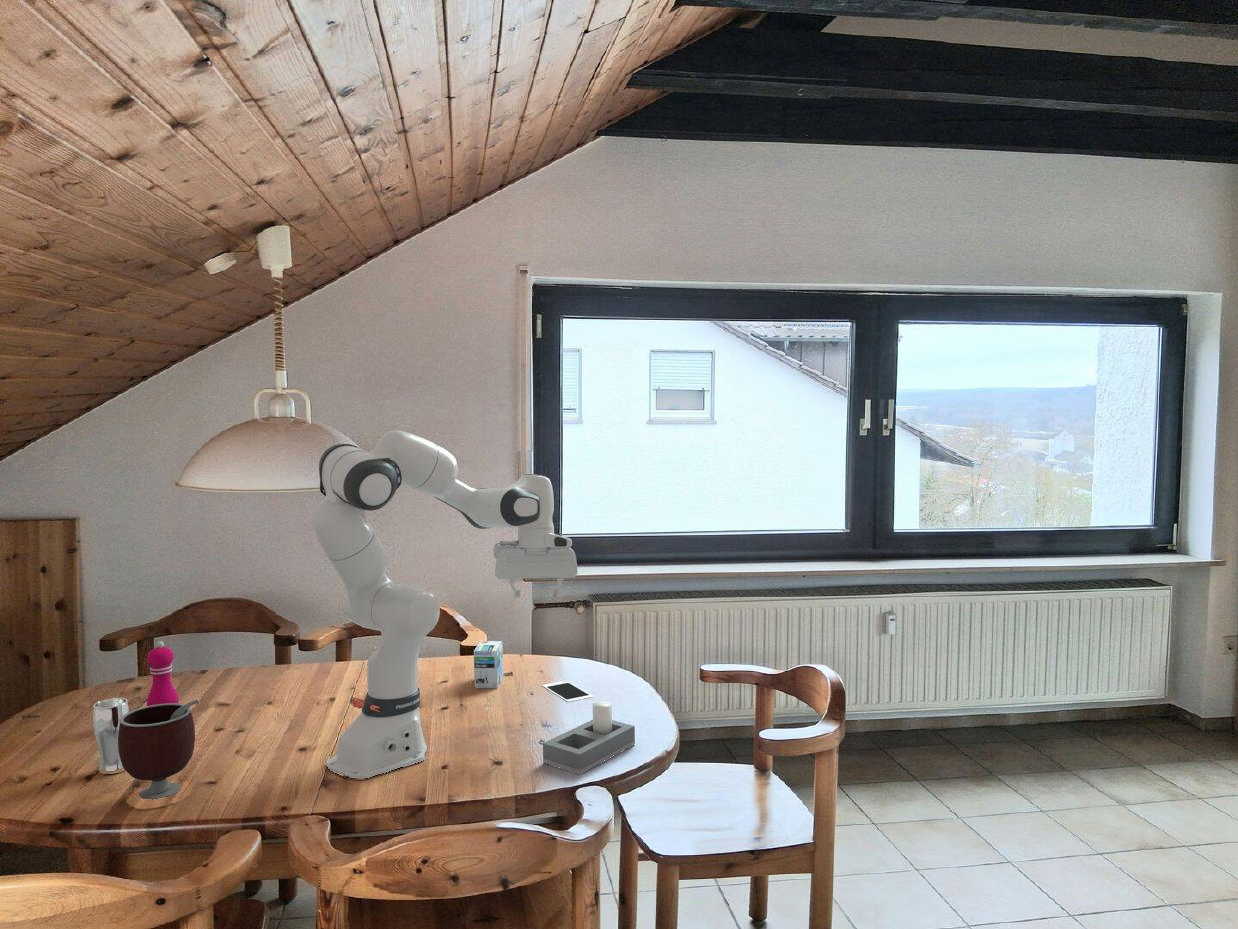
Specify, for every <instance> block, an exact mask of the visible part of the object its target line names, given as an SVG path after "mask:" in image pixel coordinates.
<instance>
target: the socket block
mask: <svg viewBox="0 0 1238 929" xmlns="http://www.w3.org/2000/svg"><path fill="white" fill-rule="evenodd" d="M635 728H636V727H635V725H631V724H629V723H624V722H620V721H616V720H613V719H612V732H611V733H609V734H607V735H602V734H598V733H594V732H593V719H591V720H589V721H588V722H584V723H583V724H581V725H578V726H576V727H574V728H572V729H570V730H568V731H565V732H564V733H562V734H560V735H558V736H556V737H552V738H551V739H549V740H547V741H544V742H542V764H544V763H546V764H545V765H547V764H549V765H548V766H550V765H552V766H551V767H554V766H555V767H554V768H557V767H560V768H562V769H561V770H563V769H565V770H564V771H566V770H568V771H567V772H569V771H571V772H570V773H573V774H576V773H578V774H577V775H579V774H581V775H582V773H583V774H585V773H586V772H588V771H590V770H591V769H590V768H592V767H594V768H595V767H597V766H599V765H600V764H599V763H601V762H603V761H604V760H606V761H608V760H610V759H611V758H610V757H612V756H613V755H615V754H617V755H619V754H621V753H622V752H621V751H623V750H625V749H626V748H628V749H630V748H632V747H634V746H635V745H636V737H635V736H636V729H635ZM634 744H635V745H634ZM633 745H634V746H633ZM631 746H632V747H631ZM625 751H626V750H625ZM620 752H621V753H620ZM623 752H624V751H623ZM618 753H619V754H618ZM609 758H610V759H609ZM612 758H613V757H612ZM607 759H608V760H607ZM603 763H604V762H603ZM598 764H599V765H598ZM601 764H602V763H601ZM596 765H597V766H596ZM560 768H559V769H560ZM589 769H590V770H589ZM592 769H593V768H592ZM587 770H588V771H587Z"/></svg>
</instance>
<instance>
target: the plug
mask: <svg viewBox="0 0 1238 929" xmlns="http://www.w3.org/2000/svg"><path fill="white" fill-rule="evenodd" d="M592 720H593V732H594V733H598V734H602V735H607V734H609V733H611V732H612V720H613V704H612V703H611V702H609V701H603V700H602V701H595V702H594V703H592Z"/></svg>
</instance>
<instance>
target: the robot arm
mask: <svg viewBox="0 0 1238 929" xmlns="http://www.w3.org/2000/svg"><path fill="white" fill-rule="evenodd" d="M458 465H459V464H458V462H457V459H456V457H455V456H454V455H453V454H452V453H451V452H450V451H448V450H447V449H445V448H444V447H442V446H440V445H438V444H437V443H435V442H432V441H431V440H428V439H426V438H425V437H422V436H420V435H417V434H414V433H410V432H408V431H404V430H398V429H397V430H396V429H393V430H390V431H388V432H386V433H385V434H383V435H382V436H381V437H380V438H379V440H378V442H377V443H376V446H375V447H374V448H372V449H371V450H369V451H367V450H364V449H362V448H360V447H358V446H357V445H354V444H350V443H339V444H334V445H332V446H330V447H328V448H327V449H326V450H324V452H323V453H322V455H321V456H320V459H319V464H318V474H319V475H318V476H319V492H320V493H321V494H322V495H323V496H325V498H324V499H323V500H322V501H320V502H319V503H318V504H317V505H316V506H315V507H314V508H313V510H312V512H311V514H310V524H311V526H312V529H313V533H314V534H315V537H316V539H317V541H318V544H319V545H320V547H321V549H322V552H323V553H324V555H325V556H326V557H327V559H328V561H329V562H330V564H331V565H332V568H334V571H335V572H336V574H337V575H338V576H339V578H340V580H341V582H342V584H343V587H344V590H345V593H344V595H343V597H342V602H341V608H342V612H343V615H344V616H345V618H346V619H347V620H349V621H351V622H352V623H354V624H355V625H357V626H360V627H361V628H365V629H370V630H373V631H380V634H381V640H380V644H379V647H378V649H377V650H375V651H374V652H373V653H371V655H369V657H368V658H367V663H366V667H367V668H366V672H367V673H366V674H367V675H366V676H367V692H366V694H365V697H364V699H360V698H359V697H355V698H354V699H353V701H352V703H351V705H352V707H353V708H356V709H361V712H360V714H358V716H357V717H356V718H355V719H354V721H353V722H352V723H351V724H350V725H349V726H348V727H347V729H345V731H344V732H343V733H342V734H341V735H340V736H339V738H338V740H337V747H336V754H335V755H334V756H332V757H331V758H329V759H326V761H325V766H326V765H327V767H328V768H329V769H330V770H332V771H334V772H335V773H339V774H341V775H345V776H349V777H353V778H361V779H360V780H364V779H363V778H368V777H371V776H374V775H377V774H380V773H384V774H387V773H390V772H392V771H391V770H394V769H397V768H400V767H403V768H406V767H409V766H412V765H415V763H416V764H418V762H419V763H422V762H424V761H426V757H425V755H426V754H425V753H426V752H427V750H428V746H427V743H426V741H425V737H424V733H423V729H422V722H421V715H420V706H421V690H420V688H419V686H418V685H419V680H418V678H419V676H418V675H419V674H418V673H419V670H418V669H419V668H418V666H419V663H418V662H419V661H418V660H419V653H420V650H421V646H422V644H423V641H424V639H425V638H426V636H427V635H428V634H429V633H431V632H432V631H433V629H435V627H436V625H437V624H438V622H439V619H440V614H441V610H440V608H441V607H440V603H439V600H438V598H437V596H435V594H433V593H431V592H429V591H427V590H425V589H423V588H420V587H418V586H415V585H414V586H413V585H409V584H400V583H397V582H396V583H395V582H394V581H392V580H391V579H390V578H389V577H388V576H387V574H386V571H387V570H388V567H389V564H390V556H389V553H388V552H387V550H386V549H385V547H384V545H383V543H382V542H381V540H380V539H379V536H378V535H377V534H376V532H375V530H374V528H373V527H372V525H371V524H370V522H369V521H368V518H367V515H366V513H365V512H366V511H378V510H380V509H382V508H384V507H385V506H386V505H388V503H389V502H390V501H391V500H392V498H393V497H394V496H395V493H396V491H397V490H398V489H399V488H400V486H401V485H405V486H407V487H409V488H411V489H413V490H415V491H418V492H420V493H423V494H425V495H429V496H432V497H433V498H435V499H436V500H438V501H440V502H442V503H444V504H445V505H447V506H449V507H451V508H453V509H454V510H456V511H458V512H459V513H460V514H461V515H462V516H463V517H464V518H465V519H466V520H467V522H468V523H470V525H471V526H473V527H475V528H476V529H479V530H487V529H494V528H495V529H499V528H501V529H503V528H516V527H517V528H518V529H517V540H509V541H508V540H506V541H505V540H501V541H500V540H499V542H497V543H496V544H495V545H494V547H493V557H494V558H495V569H494V576H495V577H496V579H498V580H509V585H510V587H511V588H512V589H513V597H514V598H516V599H517V598H519V599H520V598H521V590H520V589H517V587H516V586H515V584H516V580H518V579H521V580H522V579H523V580H525V579H557V583H558V584H557V587H556V588H552V597H553V598H556V597H557V598H558V597H560V589H561V587H562V585H563V584H564V578H566V579H568V578H576V577H577V576H578V571H579V570H578V563H577V555H576V552H575V551H574V550H573V549H572V545H573V540H572V538H570V537H567V536H563V535H561V534H556V533H555V526H554V523H553V516H554V512H555V506H554V504H555V502H554V501H555V500H554V489H553V484H552V482H551V480H550V478H548V477H547V476H544V475H542V474H534V473H524V474H521V476H520V478H519V479H518V480H516V481H515V482H513V483H512V484H509V485H507V486H506V487H496V488H493V487H492V488H487V487H485V488H484V487H479V488H474V487H471V486H469V485H467V484H465V483H464V482H462V481H460V480H459V479H457V478H458V473H459V466H458ZM423 760H424V761H423ZM421 761H422V762H421ZM327 767H326V768H327ZM400 769H401V768H400ZM397 770H398V769H397ZM389 771H390V772H389ZM394 771H395V770H394ZM386 772H387V773H386ZM335 773H334V774H335ZM371 778H372V777H371ZM368 779H369V778H368Z"/></svg>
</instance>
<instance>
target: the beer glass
mask: <svg viewBox="0 0 1238 929" xmlns="http://www.w3.org/2000/svg"><path fill="white" fill-rule="evenodd" d="M92 708H93V713H92V716H93V717H92V718H93V719H92V722H93V723H92V725H93V734H94V736H95V737H94V738H95V742H96V745H97V750H98V753H99V764H98V770H99V769H100V770H102V771H105V772H106V771H115V770H118V769H121V768H123V766H122V763H121V760H120V756H119V751H118V733H119V726H120V718H121V717H122V716H123V715H125V714H126V713H128V712H130V707H129V700H128V699H127V698H126V697H113V698H107V699H103V700H99V701H97V702H95V703H94V704H93V706H92Z"/></svg>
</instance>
